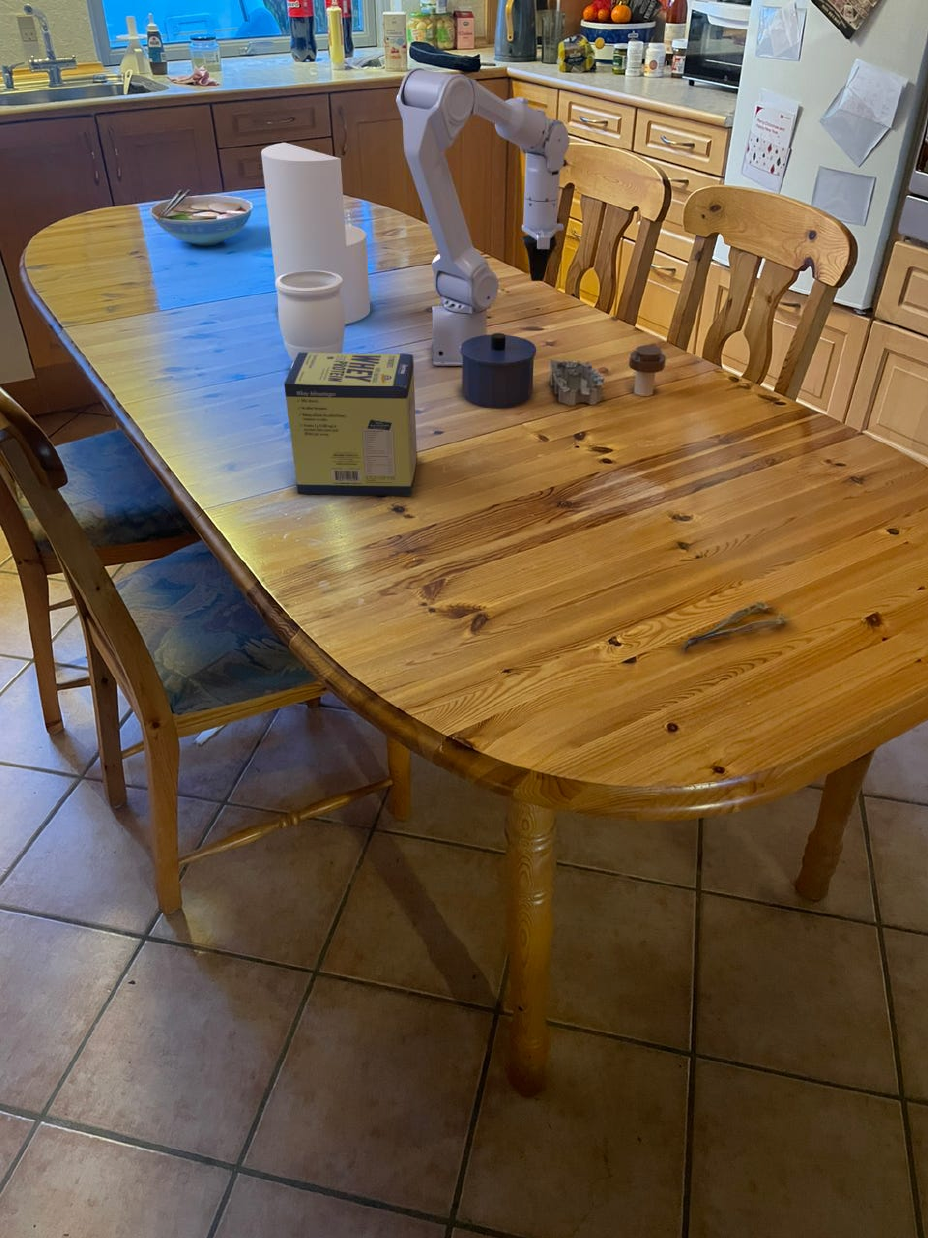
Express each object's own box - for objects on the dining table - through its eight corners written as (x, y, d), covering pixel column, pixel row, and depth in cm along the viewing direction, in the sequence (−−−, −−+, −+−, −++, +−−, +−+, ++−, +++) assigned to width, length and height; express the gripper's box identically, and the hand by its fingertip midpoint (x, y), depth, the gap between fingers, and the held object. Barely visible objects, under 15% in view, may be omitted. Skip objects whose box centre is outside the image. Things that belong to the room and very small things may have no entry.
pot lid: (461, 370, 142) (461, 350, 141) (458, 341, 152) (458, 321, 150) (539, 369, 143) (540, 349, 141) (532, 340, 152) (533, 321, 150)
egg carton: (604, 406, 148) (606, 381, 145) (556, 407, 147) (558, 382, 145) (593, 378, 156) (595, 354, 154) (547, 379, 156) (549, 355, 153)
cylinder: (312, 333, 172) (297, 165, 155) (262, 308, 182) (242, 148, 165) (388, 312, 181) (381, 151, 164) (336, 289, 191) (324, 136, 174)
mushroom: (629, 399, 150) (634, 356, 145) (623, 385, 154) (627, 343, 150) (664, 399, 150) (670, 356, 146) (657, 385, 154) (663, 343, 150)
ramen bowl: (245, 257, 208) (240, 218, 203) (141, 256, 208) (134, 217, 203) (266, 226, 228) (262, 190, 223) (171, 226, 228) (164, 189, 223)
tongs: (674, 645, 100) (678, 630, 99) (760, 610, 106) (764, 595, 105) (703, 666, 97) (706, 651, 96) (789, 629, 103) (793, 614, 102)
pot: (463, 408, 147) (463, 365, 142) (461, 380, 155) (461, 338, 151) (534, 407, 147) (536, 364, 143) (528, 379, 156) (530, 337, 152)
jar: (358, 363, 161) (352, 273, 152) (332, 386, 153) (324, 293, 144) (302, 355, 164) (293, 266, 155) (273, 377, 156) (262, 285, 147)
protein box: (307, 457, 133) (296, 350, 124) (418, 459, 133) (415, 352, 124) (294, 495, 125) (281, 383, 116) (412, 497, 125) (409, 385, 115)
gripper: (570, 208, 153) (564, 293, 162) (560, 187, 165) (555, 266, 173) (526, 208, 153) (523, 293, 161) (519, 187, 165) (516, 267, 173)
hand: (537, 279), depth 167 cm, fingers closed
